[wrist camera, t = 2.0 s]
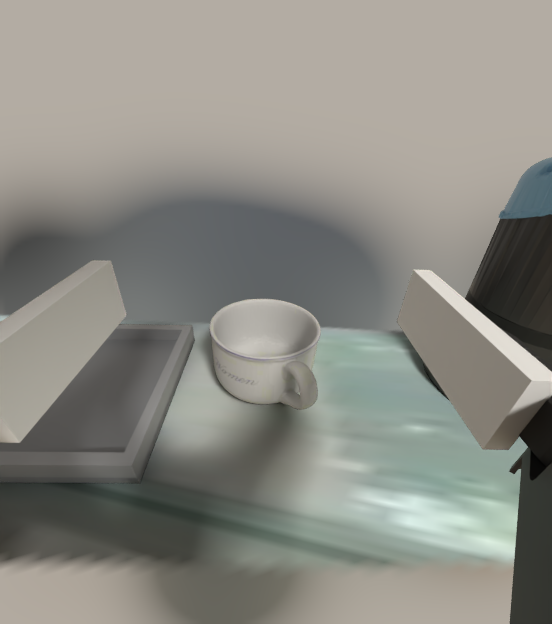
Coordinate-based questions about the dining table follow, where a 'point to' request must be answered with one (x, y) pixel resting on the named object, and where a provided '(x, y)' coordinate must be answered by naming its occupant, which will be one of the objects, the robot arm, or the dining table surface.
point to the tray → (105, 412)
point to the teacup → (266, 352)
